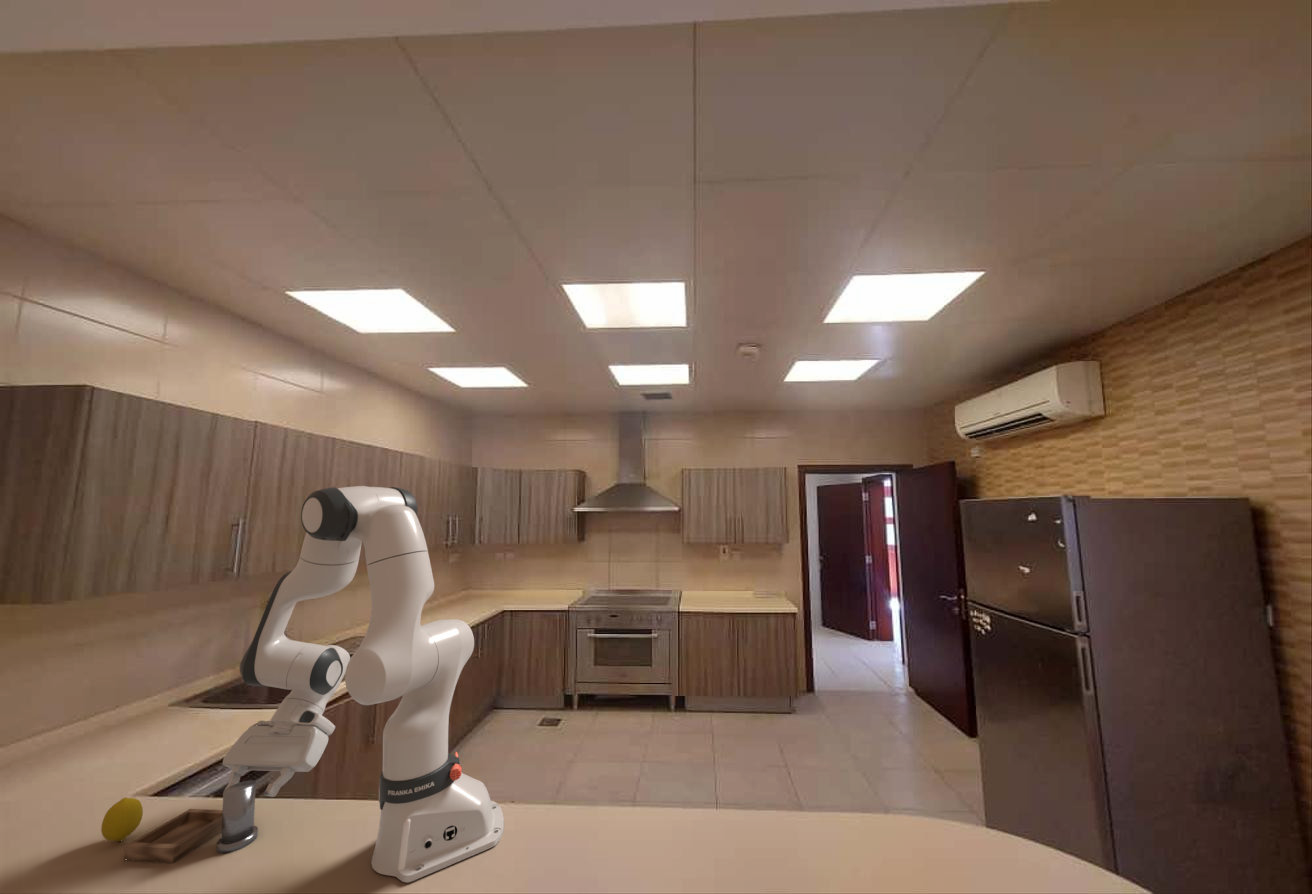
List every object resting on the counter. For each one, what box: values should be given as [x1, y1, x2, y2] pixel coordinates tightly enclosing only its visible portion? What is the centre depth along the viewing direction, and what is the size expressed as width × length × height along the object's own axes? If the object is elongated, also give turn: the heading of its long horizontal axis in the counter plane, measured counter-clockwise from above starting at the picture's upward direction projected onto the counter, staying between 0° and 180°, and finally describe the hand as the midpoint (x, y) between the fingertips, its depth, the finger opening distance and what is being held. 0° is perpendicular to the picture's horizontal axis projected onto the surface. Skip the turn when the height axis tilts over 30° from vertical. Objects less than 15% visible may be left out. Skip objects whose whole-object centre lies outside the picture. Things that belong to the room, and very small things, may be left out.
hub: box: [215, 779, 259, 855], centre depth 93 cm, size 6×6×10 cm
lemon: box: [100, 797, 144, 842], centre depth 95 cm, size 6×6×8 cm
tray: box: [123, 808, 223, 864], centre depth 94 cm, size 11×11×2 cm
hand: (248, 794), depth 95 cm, fingers open, 8 cm apart
